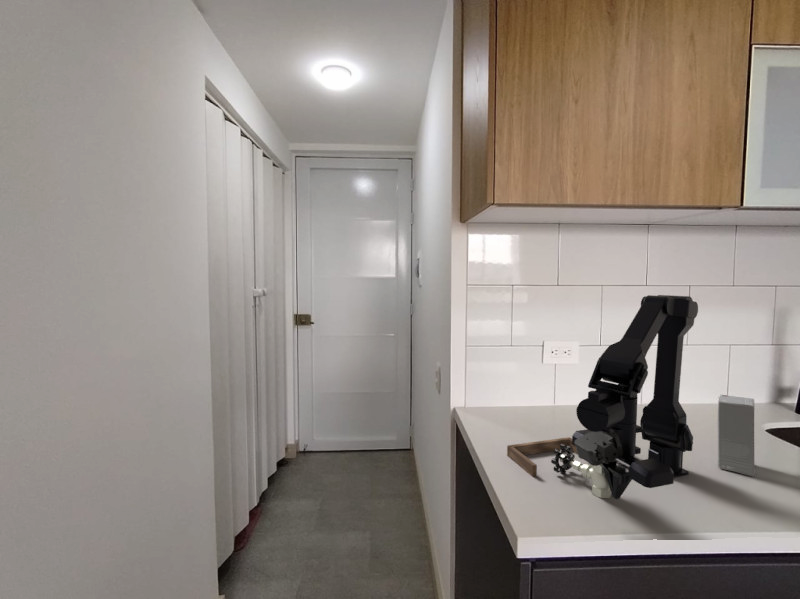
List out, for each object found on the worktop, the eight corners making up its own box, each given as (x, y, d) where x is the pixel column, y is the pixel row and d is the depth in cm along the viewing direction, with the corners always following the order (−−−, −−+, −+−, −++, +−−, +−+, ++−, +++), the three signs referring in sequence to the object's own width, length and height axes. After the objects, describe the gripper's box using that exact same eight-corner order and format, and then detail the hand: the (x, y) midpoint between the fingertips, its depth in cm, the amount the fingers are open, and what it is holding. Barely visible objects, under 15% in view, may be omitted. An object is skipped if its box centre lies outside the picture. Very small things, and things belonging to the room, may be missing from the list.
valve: (621, 494, 81) (570, 468, 91) (622, 462, 80) (571, 440, 91) (600, 503, 78) (550, 475, 88) (601, 470, 77) (551, 446, 88)
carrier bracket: (569, 446, 103) (569, 437, 102) (599, 465, 93) (600, 455, 92) (507, 455, 98) (507, 445, 98) (532, 476, 88) (532, 465, 87)
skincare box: (754, 478, 87) (759, 407, 86) (713, 467, 92) (717, 400, 91) (753, 464, 94) (758, 398, 92) (715, 454, 98) (719, 391, 97)
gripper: (551, 407, 82) (549, 480, 83) (625, 444, 64) (622, 536, 66) (595, 402, 86) (592, 472, 87) (678, 436, 68) (674, 524, 69)
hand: (616, 498), depth 77 cm, fingers closed
